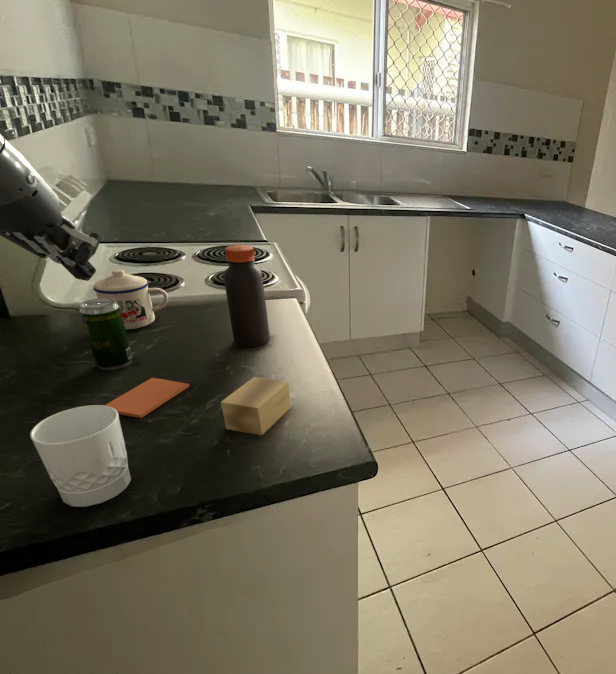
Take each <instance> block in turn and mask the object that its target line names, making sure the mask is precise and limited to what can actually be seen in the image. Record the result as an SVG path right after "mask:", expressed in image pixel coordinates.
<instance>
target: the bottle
mask: <svg viewBox="0 0 616 674" xmlns="http://www.w3.org/2000/svg"><path fill="white" fill-rule="evenodd" d="M224 253H225V254H224V255H225V260H226V263H228V267H227V268H226V269H225V270H224V272H223V274H222V277H223V282H224V288H225V294H226V300H227V308H228V313H229V319H230V326H231V332H232V337H233V338H232V339H233V343H234V344H235V345H236V346H239V347H242V348H256V347H260V346H264V345H265V344H268V343H269V341H270V340H271V334H270V327H269V325H270V324H269V318H268V311H267V302H266V295H265V287H264V280H263V279H264V278H263V272H262V270H261V269H259V268H258V267H257V266H256V265H255V264H254V262H256V260H255V250H254V247H253V246H251V245H247V244H246V245H245V244H236V245H235V244H234V245H229V246H226V247H224Z"/></svg>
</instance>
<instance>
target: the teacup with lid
mask: <svg viewBox="0 0 616 674" xmlns="http://www.w3.org/2000/svg"><path fill="white" fill-rule="evenodd" d="M92 288H93V291H94V292H95V293H96V297H97V298H96V299H98V298H111V299H115V300H116V303H117V304H118V305H119V308H120V312H121V315H122V319H123V323H124V327H125V330H126V331H127V330H134V329H135V330H136V329H139V328H143V327H146V326H149V325H151V324H152V323H153V322H155V319H156V316H155V313H154V312H155V311H159V310H162V309H164V308H165V307H166V306H167V304H168V301H169V295H168V292H166V290H164V289H163V288H160V287H149V281H148V280H147V279H146V278H145V277H142V276H139V275H133V274H131V273H130V274H129V273H126V272H125V270H123V269H113V270H112V272H111V274H110V275H108V276H106V277H105V278H102V279H99V280H97V281H96V282H94V284H93V287H92ZM151 293H159V294H161V295H163V298H164V299H163V302H162V303H161V304H159V305H154V306H153V304H152V303H153V302H152V299H151V295H150V294H151Z"/></svg>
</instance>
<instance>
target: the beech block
mask: <svg viewBox="0 0 616 674" xmlns="http://www.w3.org/2000/svg"><path fill="white" fill-rule="evenodd" d="M220 405H221V410H222V415H223V420H224V426H225V429H226V430H229V431H236V432H241V433H247V434H252V435H258V436H263V435H264V434H265V433H266V432H267V431H268V430H270V429H271V427H272V426H274V424H276V423H277V422H278V421H279V420H280V419H281V418H282V417H283V416H284V415H286V413H287V412H289V410H290V409H291V408H292V405H291V396H290V388H289V382H288V381H283V380H277V379H270V378H264V377H259V376H253V377H252V378H251V379H249V380H248V381H246V382H245V383H244V384H242V385H241V386H240V387H239V388H237V389H236V390H234V391H233V392H232V393H231V394H229V395H227V397H225V398H224V399H222V401H220Z"/></svg>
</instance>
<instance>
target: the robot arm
mask: <svg viewBox="0 0 616 674" xmlns="http://www.w3.org/2000/svg"><path fill="white" fill-rule="evenodd" d="M0 236H1V237H2V238H4V239H7V240H8V241H10V242H12V243H13V244H15V245H17V246H19V247H21V248H22V249H24V250H25V251H28V252H30V253H32V254H34V255H36V256H37V257H39V258H41V259H45V258H46V257H48V258H49V259H50V260H51V261H52V262H54V263H55V264H59V265H61V266H62V267H64V268H65V269H66V271H68V272H69V274H70V275H72V276H73V277H74V279H75V280H76V279H77V280H81V281H85V282H89V281H90V280H91V279H92V277H93V276H95V274H96V272H97V269H96V267H95V266H94V265H93V264H92V263H91V262H90V259H91V258H92V257H93V256H94V255H95V254H96V253H97V250H98V248H99V246H100V243H101V242H102V236H101V235H100V234H98V233H96V232H90V234H88V233H84V232H82V231H79V230H77V228H76V225H75V224H74V222H72V221H71V220H70V219H68V218H67V217H66V216H64V215H63V214H62V208H61V200H60V197H59V196H58V194H57V193H56V192H55V191H54V190H53V189H52V188H51V186H50V185H49V183H47V182H46V181H45V179H44V178H43V177H42V175H41V174H39V172H38V171H37V170H36V169H35V167H34V166H33V165H32V164H31V163H30V162H29V160H27V158H26V157H25V156H24V155H23V153H22V152H21V151H20V150H19V149H18V148H17V147H15V145H13V144H12V143H11V142H10V141H9V140H7V138H6V137H5V136H4V135H3V134H1V132H0Z"/></svg>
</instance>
